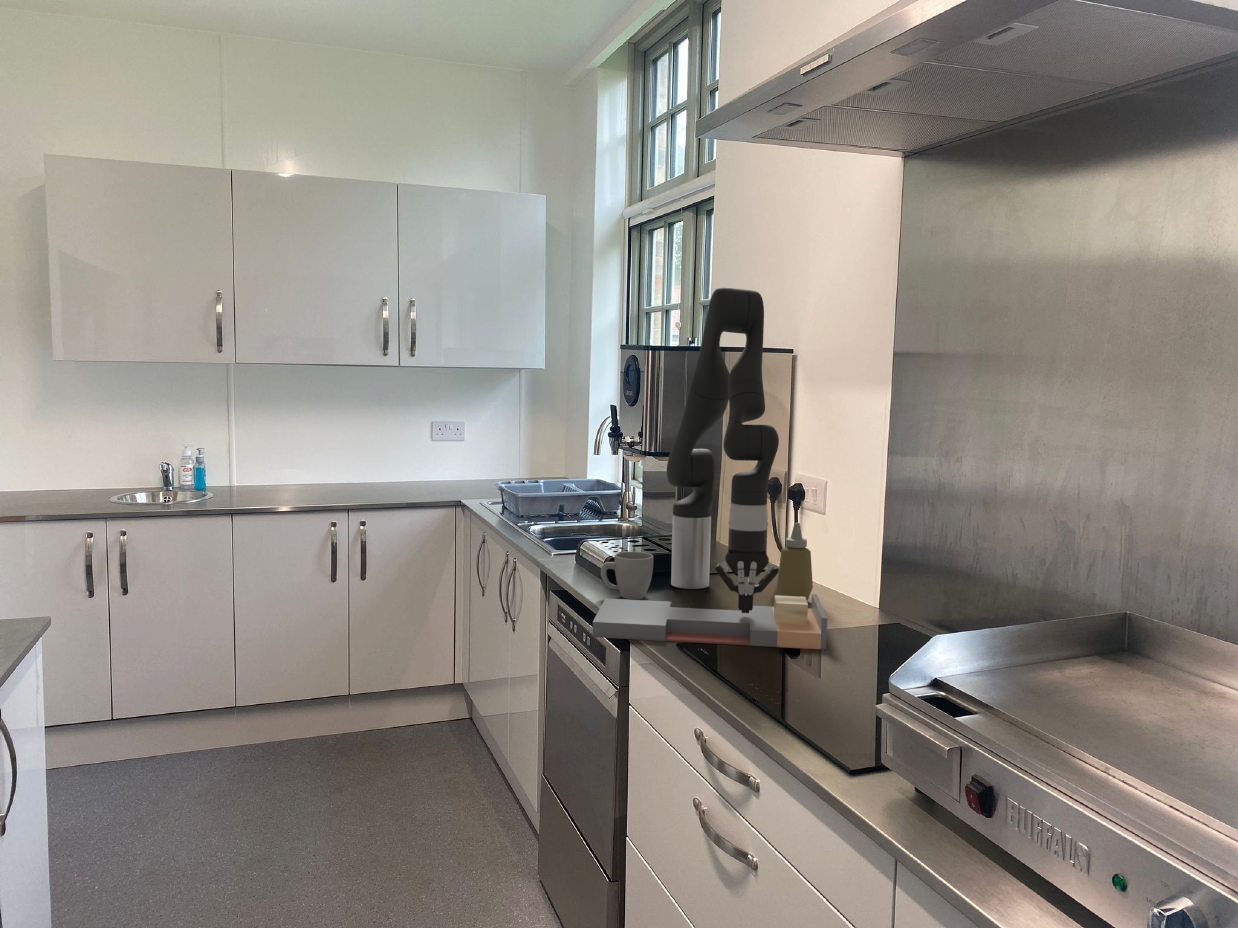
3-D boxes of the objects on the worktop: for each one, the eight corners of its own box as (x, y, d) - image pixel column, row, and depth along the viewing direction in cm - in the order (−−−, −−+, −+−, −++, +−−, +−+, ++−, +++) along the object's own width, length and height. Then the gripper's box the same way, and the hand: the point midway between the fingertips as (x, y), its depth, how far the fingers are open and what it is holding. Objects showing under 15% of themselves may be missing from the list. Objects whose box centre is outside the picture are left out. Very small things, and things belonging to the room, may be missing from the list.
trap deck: (605, 612, 183) (605, 584, 182) (815, 622, 178) (816, 594, 177) (592, 636, 165) (593, 606, 164) (825, 649, 160) (827, 618, 159)
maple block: (773, 614, 172) (774, 595, 171) (804, 616, 171) (805, 596, 171) (775, 623, 166) (776, 602, 165) (807, 624, 165) (808, 604, 165)
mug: (648, 591, 201) (649, 551, 200) (656, 601, 193) (656, 558, 192) (597, 592, 200) (598, 551, 199) (603, 602, 191) (603, 559, 190)
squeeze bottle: (773, 604, 192) (776, 524, 190) (778, 595, 200) (781, 519, 198) (810, 607, 190) (814, 527, 188) (813, 598, 197) (816, 521, 196)
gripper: (780, 524, 171) (777, 608, 173) (714, 521, 173) (711, 605, 175) (783, 530, 164) (780, 619, 166) (714, 528, 165) (711, 615, 167)
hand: (745, 612), depth 170 cm, fingers closed
